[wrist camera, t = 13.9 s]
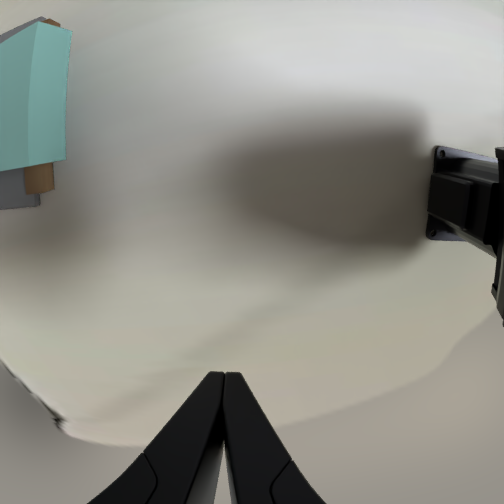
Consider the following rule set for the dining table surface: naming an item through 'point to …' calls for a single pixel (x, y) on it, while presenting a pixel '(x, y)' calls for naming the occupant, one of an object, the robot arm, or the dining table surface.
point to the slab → (33, 96)
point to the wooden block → (40, 165)
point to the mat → (13, 181)
